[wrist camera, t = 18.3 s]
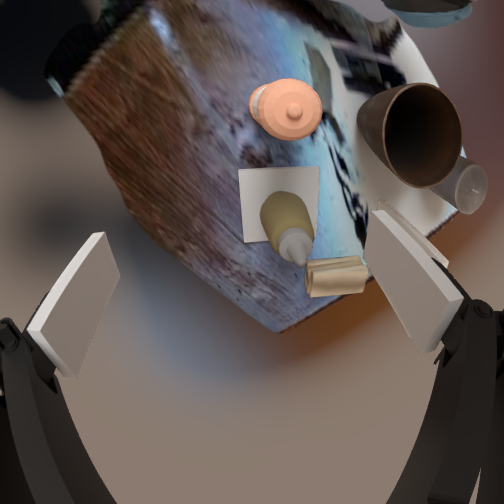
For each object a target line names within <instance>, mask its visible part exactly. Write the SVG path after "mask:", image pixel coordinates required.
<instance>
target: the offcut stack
mask: <svg viewBox="0 0 504 504" xmlns="http://www.w3.org/2000/svg"><path fill="white" fill-rule="evenodd" d="M368 271H369V269H368V268H367V266H366V265H363V263H362V262H361V259H360V257H359V256H349V257H338V258H327V259H316V260H306V269H305V282H304V283H305V286H306V291H307V294H309V295H310V297H321V296H332V295H342V294H352V293H361V292H363V289H364V286H365V282H366V279H367V275H368Z"/></svg>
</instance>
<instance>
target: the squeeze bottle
mask: <svg viewBox="0 0 504 504" xmlns="http://www.w3.org/2000/svg"><path fill="white" fill-rule="evenodd" d="M259 215H260V220H261V224H262V226H263V229H264V231H265V233H266V235H267V238H268V240H269V242H270V245H271V247H272V248H273V249H274V251H275V252H276V253H278V254H280V255H281V256H282V257H283V259H285V260H287V261H290V262H295V263H296V264H297V266H298V267H300V268H303V267H305V266H306V258H307V256H308V255H309V254H310V253H311V251H312V248H313V245H312V243H313V241H314V229H313V226H312V223H311V220H310V216H309V213H308V210H307V207H306V205H305V203H304V202H303V200H302V198H300V197H299V196H297V195H296V194H294V193H290V192H285V191H277V192H274V193H272V194H271V195H269V196H268V198H267V199H266V200H265V202H264V203H263V204H262V206H261V210H260V214H259Z"/></svg>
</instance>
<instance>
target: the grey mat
mask: <svg viewBox="0 0 504 504" xmlns="http://www.w3.org/2000/svg"><path fill="white" fill-rule="evenodd" d="M238 172H239V185H240V198H241V210H242V222H243V235H244V243H246V242H259V241H269V240H268V238H267V235H266V233H265V231H264V229H263V226H262V224H261V220H260V215H259V214H260V210H261V206H262V204H263V203H264V202H265V200H266V199H267V198H268V196H269V195H271V194H272V193H274V192H277V191H285V192H290V193H294V194H296V195H297V196H299V197H300V198H302V200H303V202H304V203H305V205H306V207H307V210H308V213H309V216H310V220H311V223H312V226H313V229H314V237H316V232H317V216H318V198H319V172H320V167H319V166H294V167H271V168H254V169H240V170H238Z"/></svg>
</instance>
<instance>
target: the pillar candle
mask: <svg viewBox="0 0 504 504" xmlns="http://www.w3.org/2000/svg"><path fill="white" fill-rule="evenodd" d="M487 187H488V179H487V174H486V172H485V170H484V169H483V168H482V167H481V166H480V165H478V164H476V163H474V162H473V161H470V160H468V159H466V158H464V157H462V156H460V157H459V160H458V162H457V164H456V166H455V168H454V169H453V171H452V172H451V174H450V175H449V176H448V177H447V178H446V179H445V180H444V181H442V182H441V183H439V184H438V185H435V186H433V187H429V189H430V190H432V191H433V192H434V193H436V194H437V195H439V196H440V197H442V198H443V199H444V200H446V201H447V202H449V203H450V204H451V205H453V206H454V207H455V208H456V209H458V210H459V211H460V212H461V213H464V214H472V213H473V212H474V211H476V210H477V209H478V208H479V207H480V206H481V204H482V203H483V201H484V199H485V196H486V193H487Z"/></svg>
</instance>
